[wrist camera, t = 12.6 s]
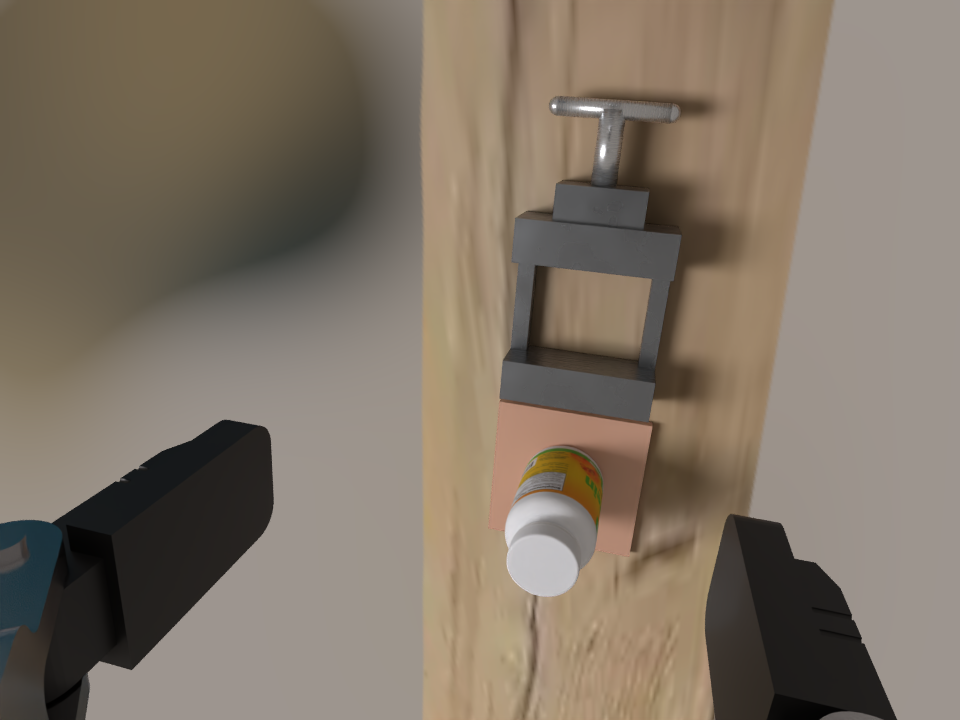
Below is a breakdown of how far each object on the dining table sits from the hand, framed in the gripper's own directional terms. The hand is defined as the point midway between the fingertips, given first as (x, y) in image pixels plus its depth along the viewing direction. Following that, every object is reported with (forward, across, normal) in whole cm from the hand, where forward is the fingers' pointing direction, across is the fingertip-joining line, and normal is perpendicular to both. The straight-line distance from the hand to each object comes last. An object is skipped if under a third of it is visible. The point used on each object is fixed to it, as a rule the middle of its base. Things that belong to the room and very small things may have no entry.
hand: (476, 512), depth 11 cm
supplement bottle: (+30, 0, +16) cm, 34 cm away
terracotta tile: (+30, 0, +16) cm, 34 cm away
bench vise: (+30, 0, +1) cm, 30 cm away
